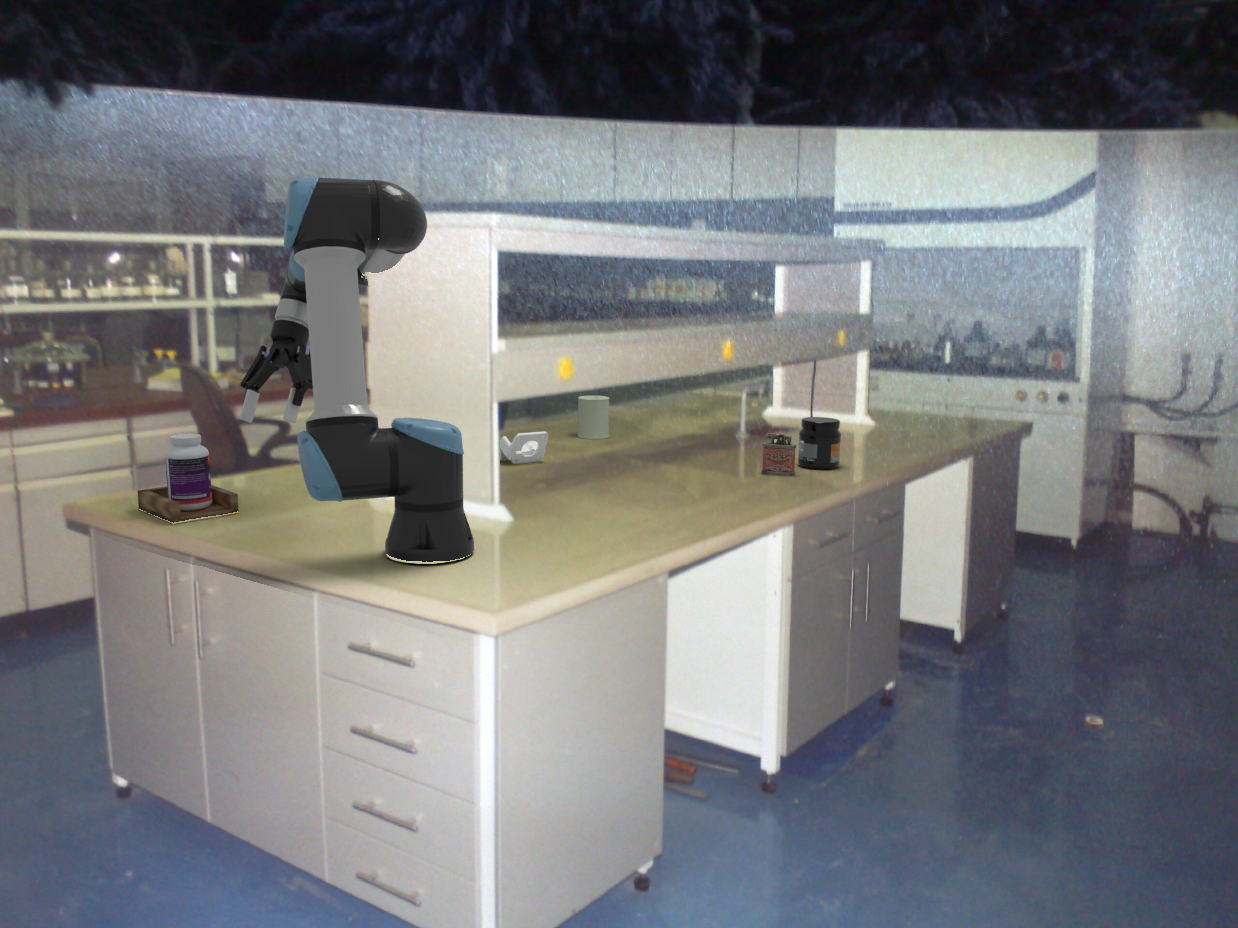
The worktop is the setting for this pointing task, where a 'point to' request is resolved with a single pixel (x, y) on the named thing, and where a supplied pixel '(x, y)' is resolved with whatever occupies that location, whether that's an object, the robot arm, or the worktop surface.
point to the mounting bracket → (524, 447)
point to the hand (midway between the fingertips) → (266, 421)
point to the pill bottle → (188, 472)
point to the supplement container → (819, 443)
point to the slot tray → (169, 509)
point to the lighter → (779, 455)
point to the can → (593, 417)
